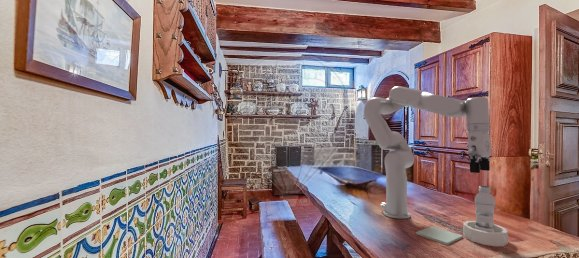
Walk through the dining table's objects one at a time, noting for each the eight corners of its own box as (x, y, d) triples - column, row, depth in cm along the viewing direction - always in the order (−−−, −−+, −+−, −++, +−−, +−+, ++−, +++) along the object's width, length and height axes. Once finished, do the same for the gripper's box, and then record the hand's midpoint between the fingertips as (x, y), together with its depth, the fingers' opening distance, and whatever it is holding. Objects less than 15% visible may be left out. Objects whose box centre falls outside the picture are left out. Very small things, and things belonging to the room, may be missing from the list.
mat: (415, 234, 106) (415, 232, 106) (431, 228, 113) (431, 226, 113) (447, 245, 96) (447, 242, 96) (462, 237, 103) (462, 235, 103)
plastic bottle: (469, 235, 105) (469, 185, 105) (485, 235, 106) (485, 184, 106) (483, 242, 99) (483, 188, 99) (500, 241, 99) (499, 188, 99)
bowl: (457, 236, 104) (457, 225, 104) (472, 229, 111) (472, 218, 111) (498, 249, 93) (498, 236, 93) (512, 240, 100) (512, 228, 100)
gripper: (480, 127, 98) (482, 174, 97) (497, 128, 108) (499, 170, 107) (457, 128, 104) (459, 172, 103) (476, 128, 114) (477, 168, 113)
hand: (480, 171), depth 105 cm, fingers open, 9 cm apart
